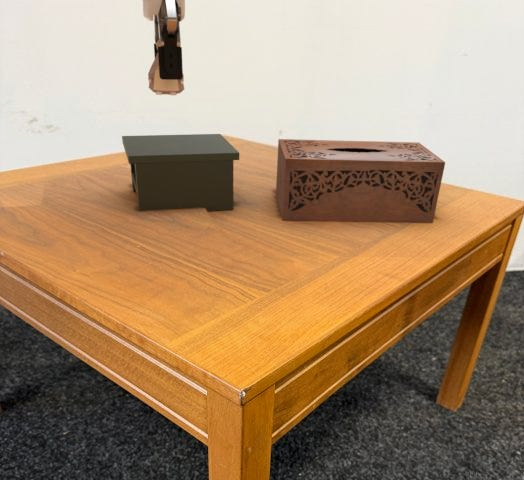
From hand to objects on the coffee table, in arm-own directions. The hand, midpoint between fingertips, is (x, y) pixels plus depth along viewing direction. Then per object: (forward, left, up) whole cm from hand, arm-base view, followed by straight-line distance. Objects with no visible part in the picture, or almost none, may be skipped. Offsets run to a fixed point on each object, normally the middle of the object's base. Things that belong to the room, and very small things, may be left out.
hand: (168, 75), depth 79 cm
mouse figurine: (0, +2, -2) cm, 3 cm away
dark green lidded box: (+2, +10, -21) cm, 24 cm away
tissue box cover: (+31, 0, -21) cm, 38 cm away
